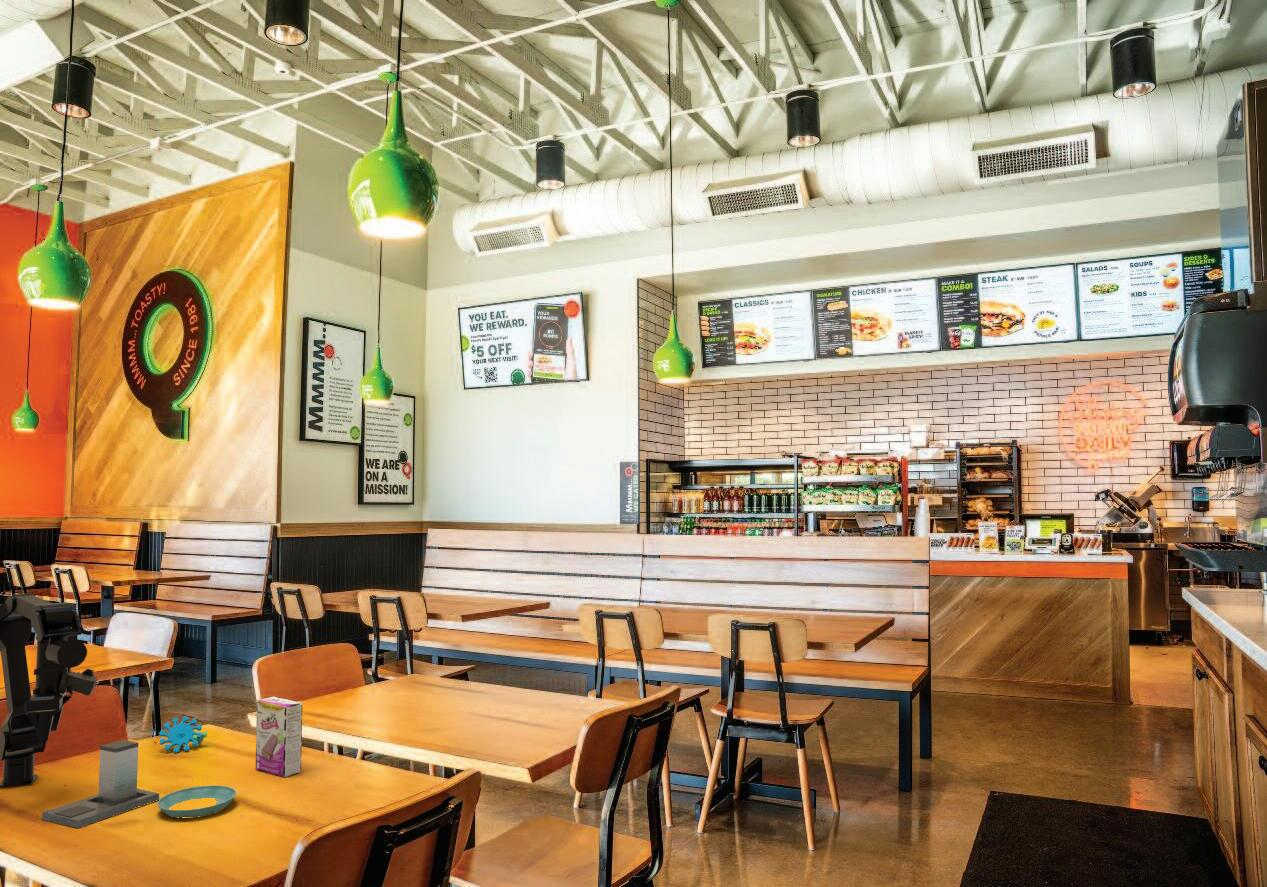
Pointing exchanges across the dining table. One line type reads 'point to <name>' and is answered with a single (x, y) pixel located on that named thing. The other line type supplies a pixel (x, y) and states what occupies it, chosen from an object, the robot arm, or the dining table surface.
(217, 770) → the dining table surface
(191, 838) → the dining table surface
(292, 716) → the candy bar box
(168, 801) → the saucer
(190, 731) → the gear
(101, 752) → the grey tall block
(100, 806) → the grey slotted plate
